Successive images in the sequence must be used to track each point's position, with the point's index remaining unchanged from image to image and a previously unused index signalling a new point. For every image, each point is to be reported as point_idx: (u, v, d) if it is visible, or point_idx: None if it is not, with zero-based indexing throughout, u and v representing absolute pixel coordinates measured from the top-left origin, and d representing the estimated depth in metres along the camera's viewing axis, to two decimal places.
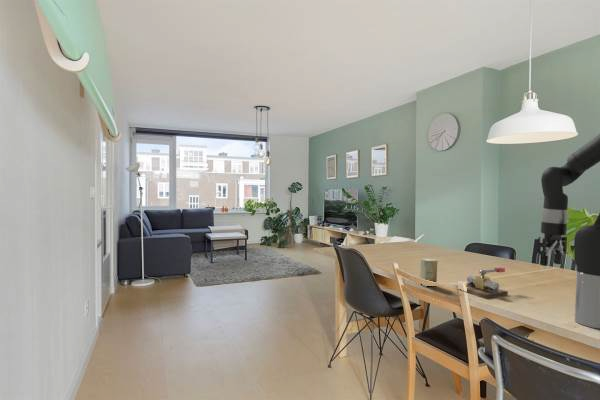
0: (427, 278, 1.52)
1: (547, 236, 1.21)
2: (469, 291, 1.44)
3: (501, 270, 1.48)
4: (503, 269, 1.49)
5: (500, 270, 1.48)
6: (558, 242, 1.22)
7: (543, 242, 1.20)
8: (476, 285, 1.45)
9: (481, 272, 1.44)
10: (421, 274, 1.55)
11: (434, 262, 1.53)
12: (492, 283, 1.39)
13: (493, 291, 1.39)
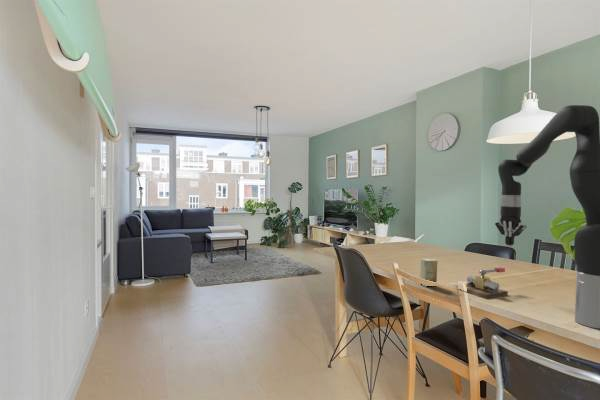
0: (427, 278, 1.52)
1: (519, 218, 1.42)
2: (469, 291, 1.44)
3: (501, 270, 1.48)
4: (503, 269, 1.49)
5: (500, 270, 1.48)
6: None
7: (523, 229, 1.40)
8: (476, 285, 1.45)
9: (481, 272, 1.44)
10: (421, 274, 1.55)
11: (434, 262, 1.53)
12: (492, 283, 1.39)
13: (493, 291, 1.39)
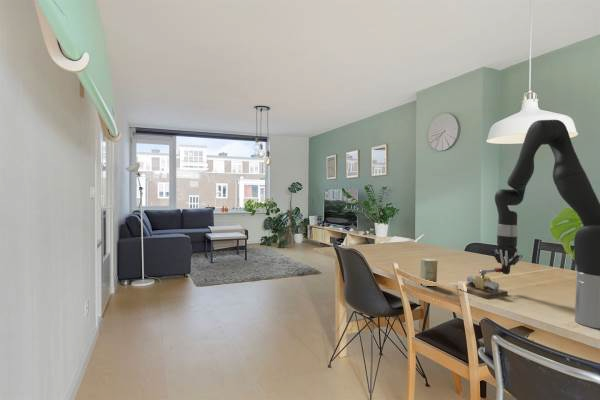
0: (427, 278, 1.52)
1: (515, 248, 1.43)
2: (469, 291, 1.44)
3: (501, 270, 1.48)
4: None
5: (500, 270, 1.48)
6: None
7: (519, 258, 1.42)
8: (476, 285, 1.45)
9: (481, 272, 1.44)
10: (421, 274, 1.55)
11: (434, 262, 1.53)
12: (492, 283, 1.39)
13: (493, 291, 1.39)
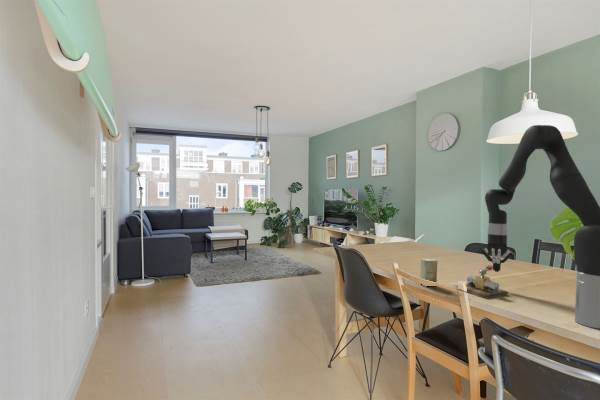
0: (427, 278, 1.52)
1: (506, 246, 1.48)
2: (469, 291, 1.44)
3: (491, 268, 1.52)
4: (492, 267, 1.53)
5: (491, 268, 1.51)
6: None
7: None
8: (476, 285, 1.45)
9: (482, 272, 1.44)
10: (421, 274, 1.55)
11: (434, 262, 1.53)
12: (492, 283, 1.39)
13: (493, 291, 1.39)
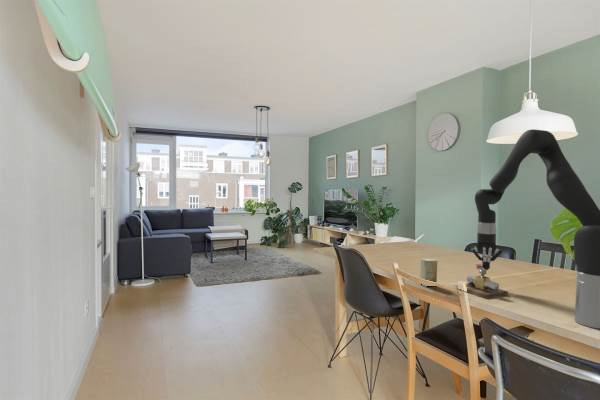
0: (427, 278, 1.52)
1: None
2: (469, 291, 1.44)
3: (481, 267, 1.54)
4: None
5: (481, 267, 1.54)
6: None
7: None
8: (476, 285, 1.45)
9: (484, 272, 1.43)
10: (421, 274, 1.55)
11: (434, 262, 1.53)
12: (492, 283, 1.39)
13: (493, 291, 1.39)
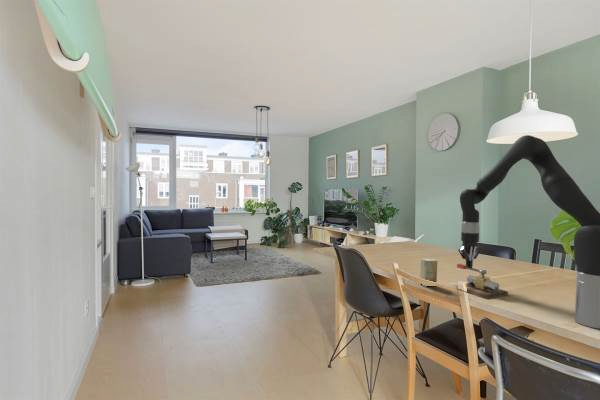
0: (427, 278, 1.52)
1: None
2: (469, 291, 1.44)
3: None
4: None
5: None
6: None
7: None
8: (476, 285, 1.45)
9: None
10: (421, 274, 1.55)
11: (434, 262, 1.53)
12: (492, 283, 1.39)
13: (493, 291, 1.39)
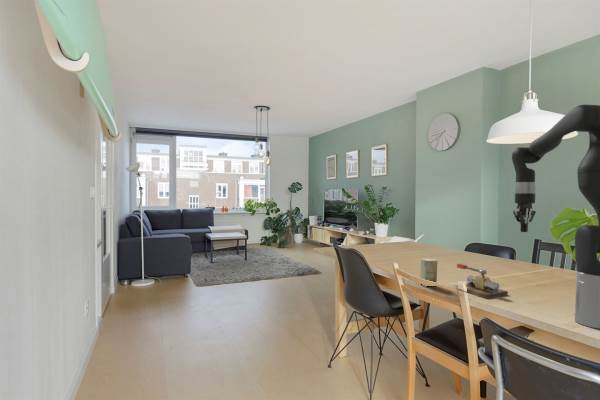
0: (427, 278, 1.52)
1: None
2: (469, 291, 1.44)
3: None
4: None
5: None
6: None
7: None
8: (476, 285, 1.45)
9: None
10: (421, 274, 1.55)
11: (434, 262, 1.53)
12: (492, 283, 1.39)
13: (493, 291, 1.39)
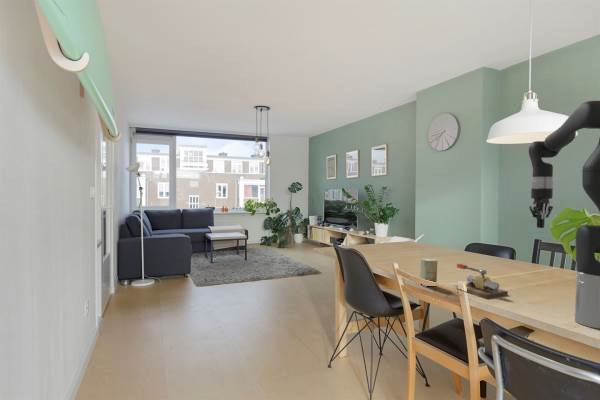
0: (427, 278, 1.52)
1: None
2: (469, 291, 1.44)
3: None
4: None
5: None
6: None
7: None
8: (476, 285, 1.45)
9: None
10: (421, 274, 1.55)
11: (434, 262, 1.53)
12: (492, 283, 1.39)
13: (493, 291, 1.39)
